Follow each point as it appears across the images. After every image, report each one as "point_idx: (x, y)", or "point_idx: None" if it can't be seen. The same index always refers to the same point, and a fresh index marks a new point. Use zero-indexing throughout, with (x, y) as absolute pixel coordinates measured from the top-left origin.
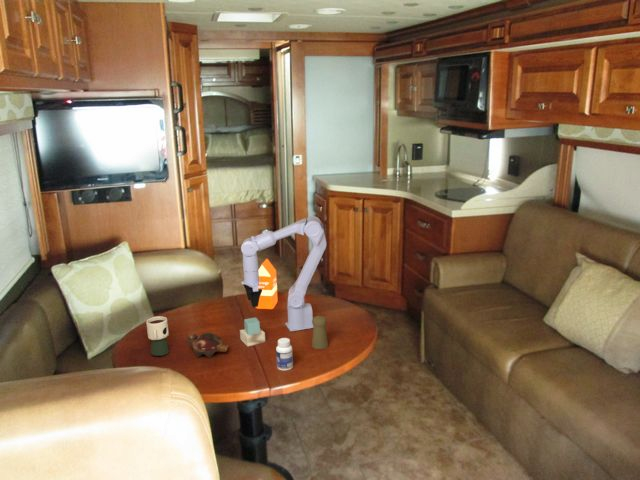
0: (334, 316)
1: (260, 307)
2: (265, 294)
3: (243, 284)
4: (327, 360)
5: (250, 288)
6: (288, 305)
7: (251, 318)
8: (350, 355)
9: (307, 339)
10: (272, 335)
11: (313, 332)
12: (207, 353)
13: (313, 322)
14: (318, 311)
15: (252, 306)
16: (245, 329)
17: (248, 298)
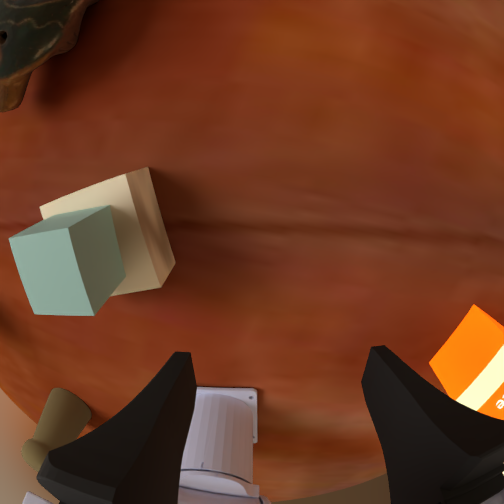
0: (256, 477)
1: (464, 324)
2: (477, 384)
3: (475, 461)
4: (8, 378)
5: (407, 458)
6: (195, 476)
7: (77, 283)
8: (35, 418)
9: (106, 399)
10: (153, 321)
11: (45, 423)
12: (5, 33)
13: (25, 447)
14: (314, 461)
15: (173, 355)
16: (87, 211)
17: (377, 358)
